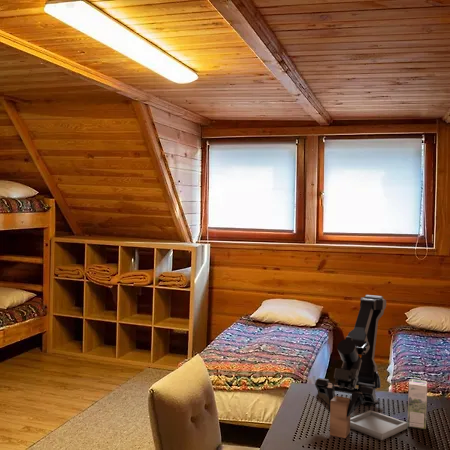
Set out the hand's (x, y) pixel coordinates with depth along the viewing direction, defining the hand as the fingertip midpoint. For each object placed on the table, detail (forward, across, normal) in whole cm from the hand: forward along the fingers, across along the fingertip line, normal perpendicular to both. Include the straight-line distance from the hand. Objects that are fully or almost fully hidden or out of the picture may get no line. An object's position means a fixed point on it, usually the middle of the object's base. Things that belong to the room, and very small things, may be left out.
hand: (339, 414), depth 179 cm
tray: (-4, +9, +13) cm, 16 cm away
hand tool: (-13, -13, +23) cm, 29 cm away
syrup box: (-10, +20, +20) cm, 30 cm away
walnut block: (+4, 0, +6) cm, 7 cm away
